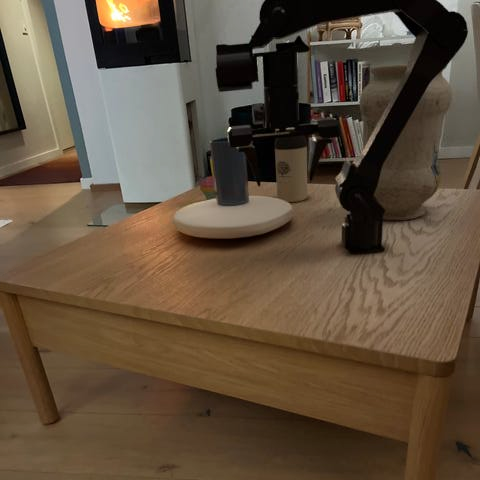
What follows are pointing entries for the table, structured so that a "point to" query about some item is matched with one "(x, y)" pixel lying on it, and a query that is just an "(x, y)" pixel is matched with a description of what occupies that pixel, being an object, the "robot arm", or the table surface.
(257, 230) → the plate
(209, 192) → the cupcake
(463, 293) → the table surface
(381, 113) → the vase
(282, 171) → the travel mug
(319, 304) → the table surface
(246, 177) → the cup
